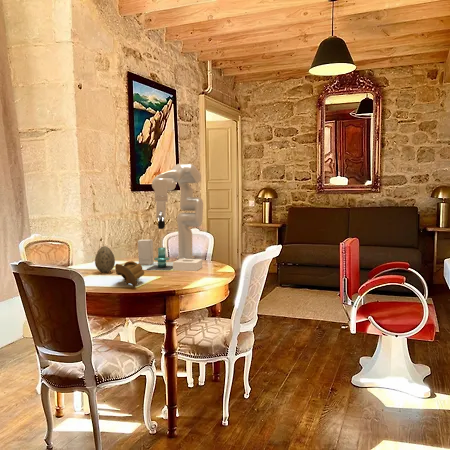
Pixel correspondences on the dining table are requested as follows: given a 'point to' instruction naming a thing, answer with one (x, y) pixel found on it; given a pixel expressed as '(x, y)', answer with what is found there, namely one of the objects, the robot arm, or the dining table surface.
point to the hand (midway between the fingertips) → (161, 228)
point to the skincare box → (145, 252)
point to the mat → (160, 268)
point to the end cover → (161, 257)
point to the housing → (187, 264)
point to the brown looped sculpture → (130, 272)
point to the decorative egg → (104, 259)
